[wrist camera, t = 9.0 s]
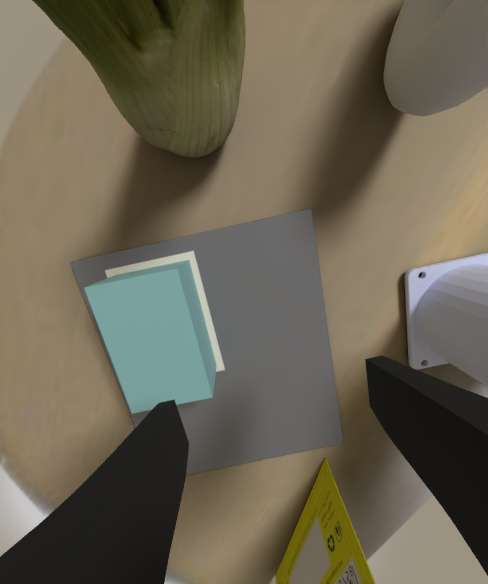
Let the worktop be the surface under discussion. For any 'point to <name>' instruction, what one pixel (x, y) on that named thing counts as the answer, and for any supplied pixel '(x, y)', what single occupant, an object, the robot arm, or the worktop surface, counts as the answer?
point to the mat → (249, 338)
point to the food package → (324, 541)
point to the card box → (155, 335)
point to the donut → (437, 55)
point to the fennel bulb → (163, 64)
